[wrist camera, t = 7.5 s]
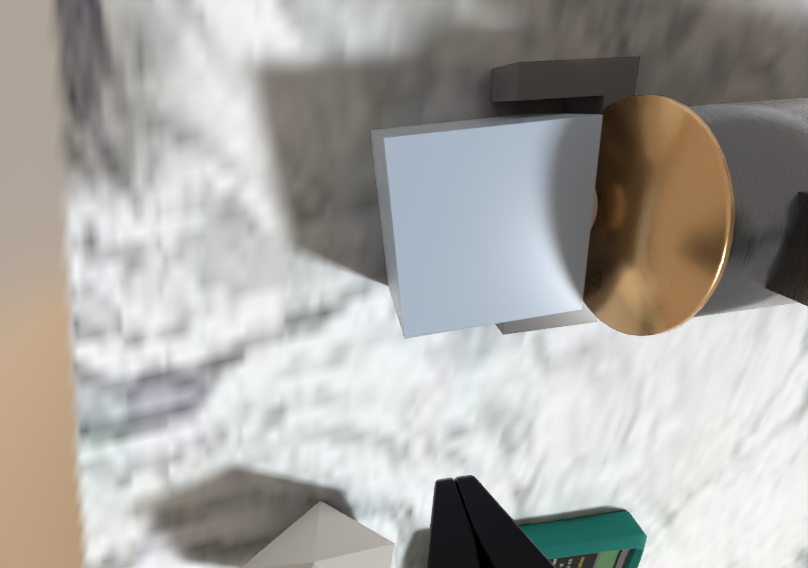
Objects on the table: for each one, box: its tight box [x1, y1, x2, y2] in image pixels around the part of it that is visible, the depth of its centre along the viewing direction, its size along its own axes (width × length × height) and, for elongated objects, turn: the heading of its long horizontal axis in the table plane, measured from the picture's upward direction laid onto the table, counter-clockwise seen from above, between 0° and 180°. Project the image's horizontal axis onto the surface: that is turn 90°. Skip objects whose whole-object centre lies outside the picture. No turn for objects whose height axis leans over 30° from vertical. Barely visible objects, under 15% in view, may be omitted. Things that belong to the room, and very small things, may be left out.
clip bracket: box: [491, 56, 640, 335], centre depth 17 cm, size 5×11×2 cm, turn 3°
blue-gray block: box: [370, 113, 603, 338], centre depth 16 cm, size 8×7×5 cm
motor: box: [583, 95, 808, 336], centre depth 15 cm, size 8×8×9 cm
